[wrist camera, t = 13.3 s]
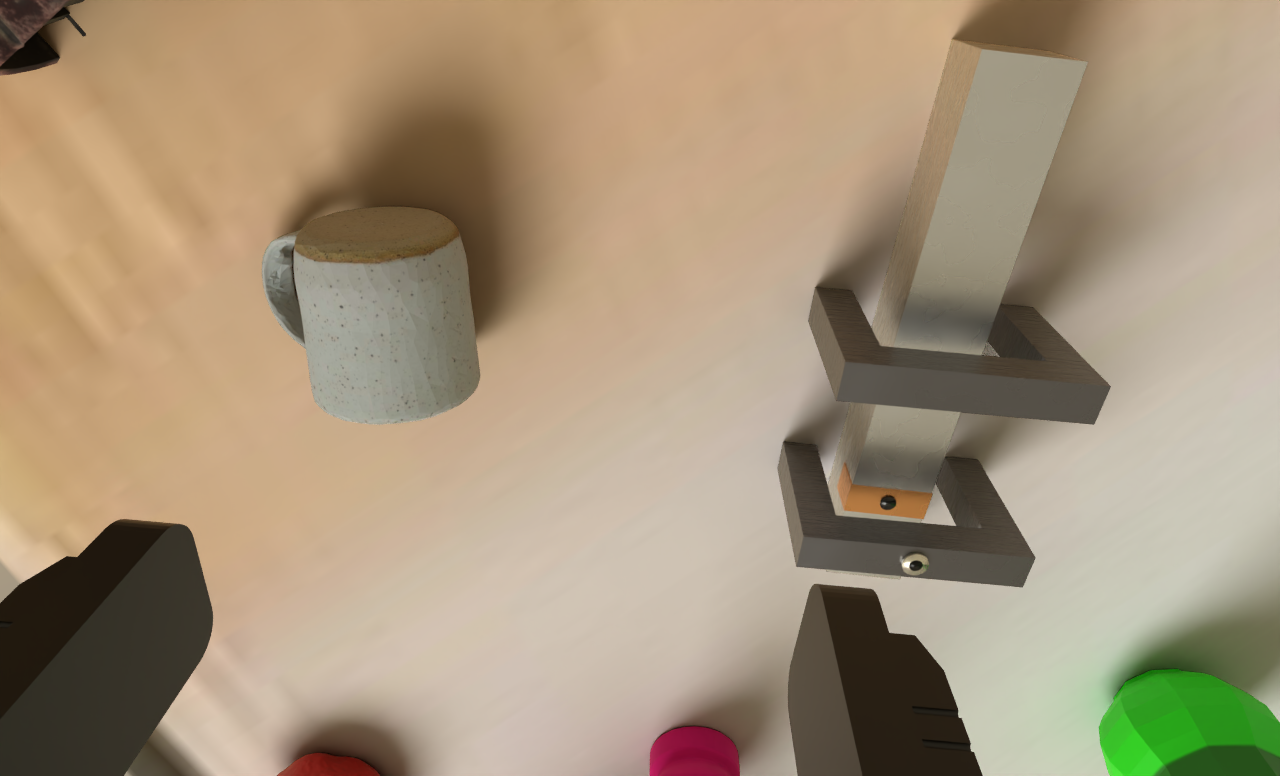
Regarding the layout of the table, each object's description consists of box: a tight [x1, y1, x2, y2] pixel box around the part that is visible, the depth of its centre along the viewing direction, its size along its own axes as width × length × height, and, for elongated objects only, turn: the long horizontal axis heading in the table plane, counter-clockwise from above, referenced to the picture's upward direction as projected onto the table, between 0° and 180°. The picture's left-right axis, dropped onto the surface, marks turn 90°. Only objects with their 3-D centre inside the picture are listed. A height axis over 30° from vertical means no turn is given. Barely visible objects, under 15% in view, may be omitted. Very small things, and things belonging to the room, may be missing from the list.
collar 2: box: [778, 442, 1035, 587], centre depth 39 cm, size 2×11×8 cm, turn 85°
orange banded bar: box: [826, 39, 1088, 579], centre depth 37 cm, size 26×4×4 cm, turn 174°
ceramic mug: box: [262, 206, 480, 425], centre depth 35 cm, size 11×8×8 cm
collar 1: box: [808, 287, 1111, 425], centre depth 35 cm, size 2×11×8 cm, turn 85°
